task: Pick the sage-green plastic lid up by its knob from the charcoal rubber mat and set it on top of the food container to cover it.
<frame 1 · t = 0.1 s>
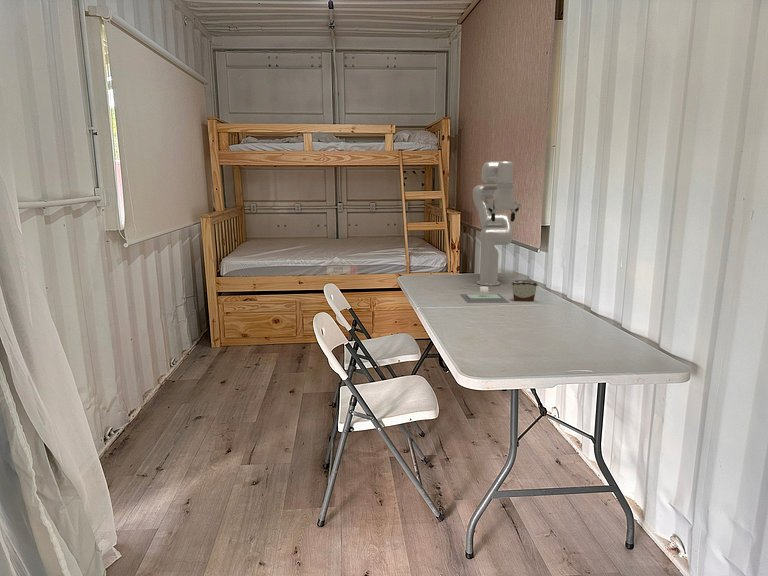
hand: (502, 221, 267), 37 cm above the table, tool pointing down, fingers open, 9 cm apart
mat: (483, 299, 258), on the table
food container: (522, 301, 255), on the table
lid: (483, 298, 258), point 1 cm above the table, touching mat
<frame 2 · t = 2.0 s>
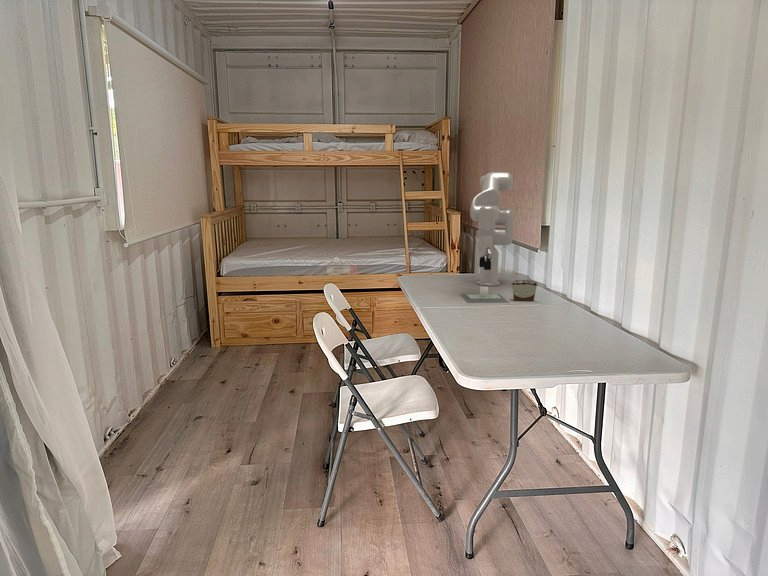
hand: (484, 268, 254), 15 cm above the table, tool pointing down, fingers open, 9 cm apart
nothing on the table moved.
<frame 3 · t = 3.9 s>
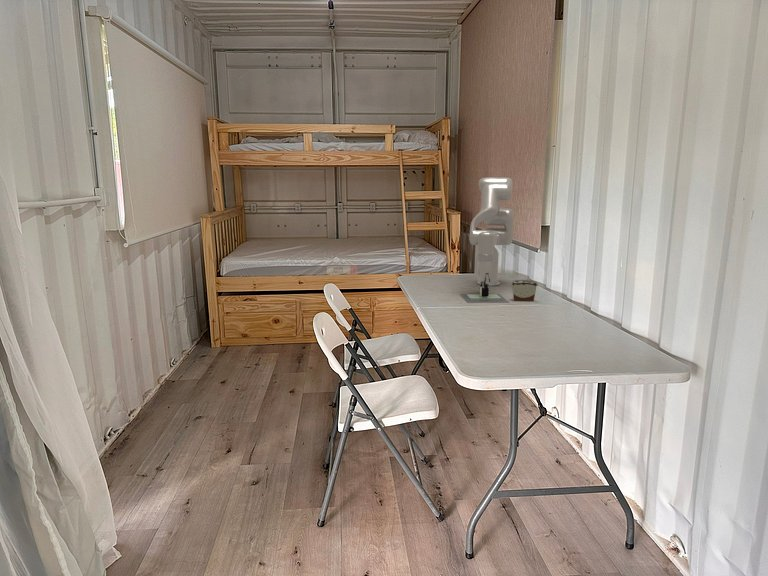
hand: (483, 294, 257), 2 cm above the table, tool pointing down, fingers closed on lid, 4 cm apart
lid: (483, 298, 258), point 1 cm above the table, touching gripper, mat
everything else where it was.
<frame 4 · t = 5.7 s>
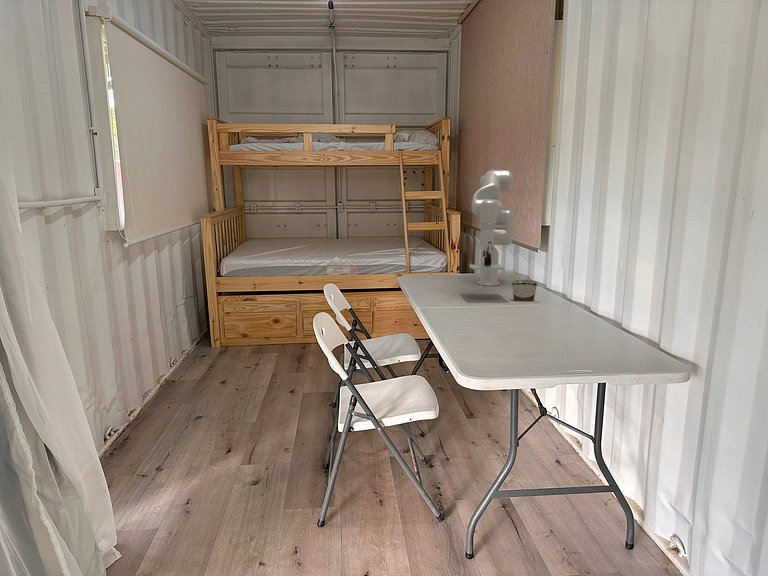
hand: (486, 264, 255), 17 cm above the table, tool pointing down, fingers closed on lid, 4 cm apart
lid: (486, 268, 255), point 15 cm above the table, touching gripper
everything else where it was.
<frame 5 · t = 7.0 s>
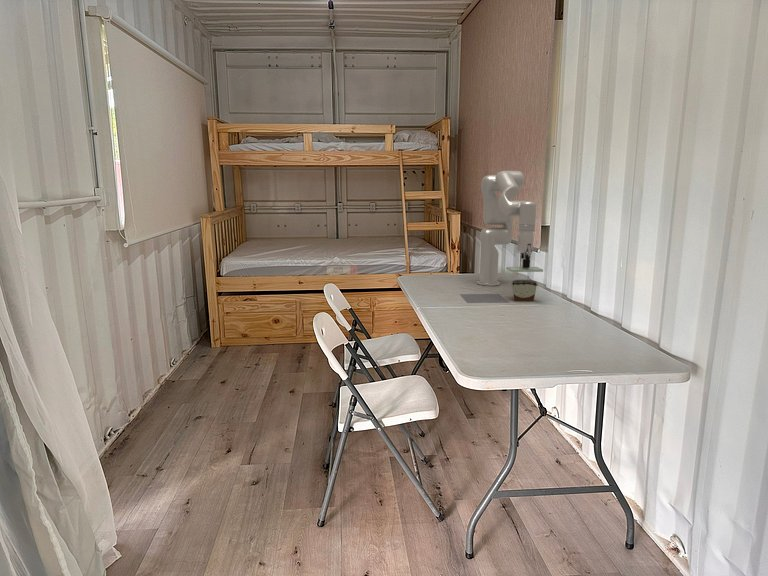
hand: (524, 266, 251), 17 cm above the table, tool pointing down, fingers closed on lid, 4 cm apart
lid: (524, 270, 252), point 15 cm above the table, touching gripper
everything else where it was.
when the fingers open (13 cm above the table, at t = 7.9 s): lid drops 1 cm, resting on food container.
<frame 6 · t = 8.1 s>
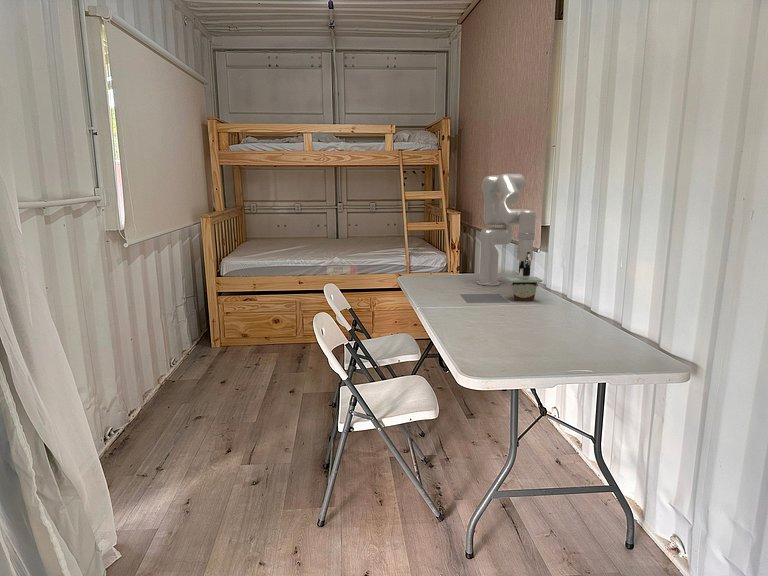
hand: (524, 274, 252), 13 cm above the table, tool pointing down, fingers open, 6 cm apart
food container: (522, 301, 255), on the table, touching lid
lid: (523, 280, 253), point 10 cm above the table, touching food container
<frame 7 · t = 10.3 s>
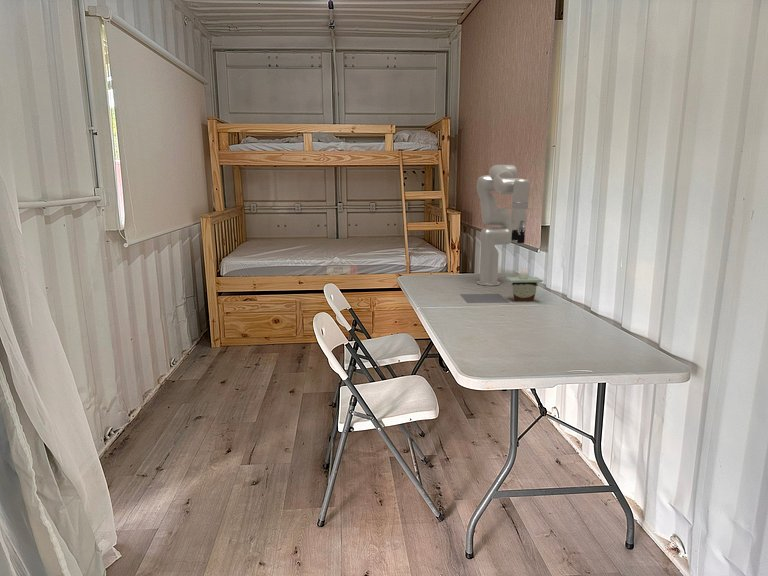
hand: (517, 241, 255), 28 cm above the table, tool pointing down, fingers open, 9 cm apart
nothing on the table moved.
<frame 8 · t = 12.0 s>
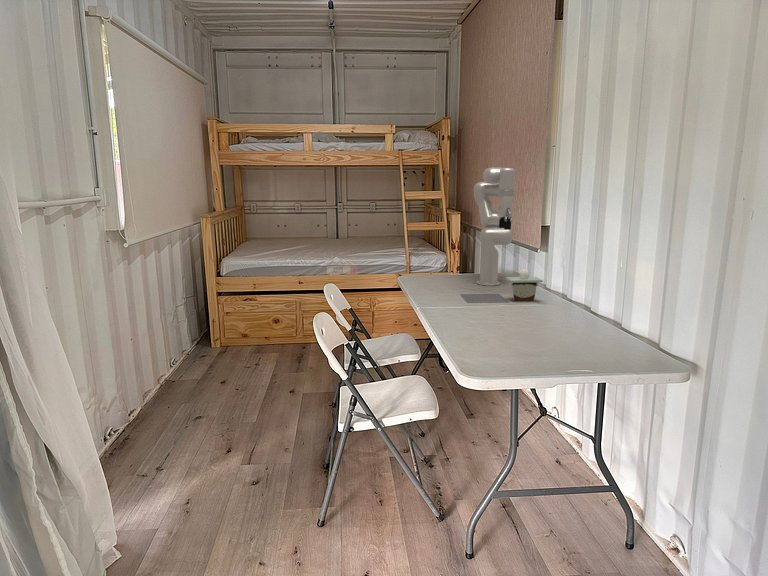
hand: (504, 228, 264), 33 cm above the table, tool pointing down, fingers open, 9 cm apart
nothing on the table moved.
at the end: lid 0.3 cm off-centre on the food container, point 10.2 cm above the food container's base; food container tilted 0°; the gripper is holding nothing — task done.
